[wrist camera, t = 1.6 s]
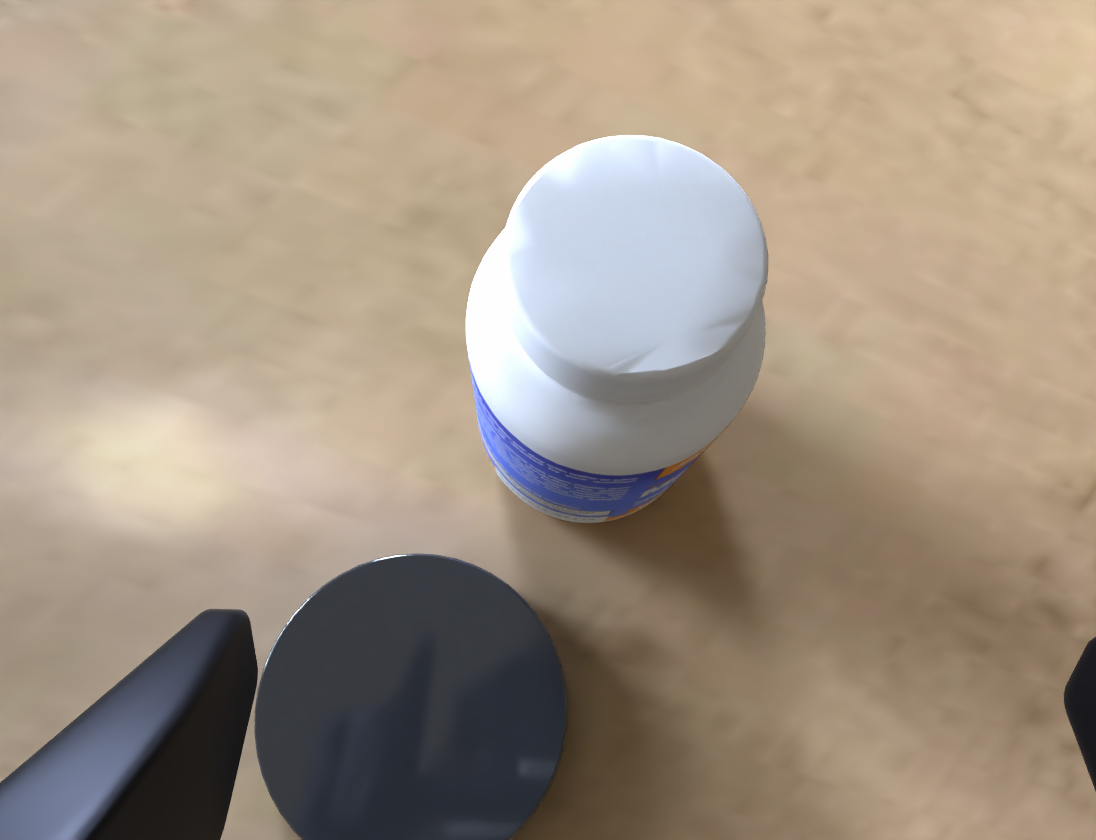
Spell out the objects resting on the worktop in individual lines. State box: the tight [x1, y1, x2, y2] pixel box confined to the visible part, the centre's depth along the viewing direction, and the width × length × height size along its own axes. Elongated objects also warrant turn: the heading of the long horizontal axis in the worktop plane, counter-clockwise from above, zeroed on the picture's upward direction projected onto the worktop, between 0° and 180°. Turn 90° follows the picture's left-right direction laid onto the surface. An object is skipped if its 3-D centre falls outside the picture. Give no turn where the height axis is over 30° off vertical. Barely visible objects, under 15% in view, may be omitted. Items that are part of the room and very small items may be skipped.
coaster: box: [255, 553, 568, 840], centre depth 20 cm, size 7×7×1 cm
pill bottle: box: [466, 135, 768, 523], centre depth 17 cm, size 5×5×10 cm
